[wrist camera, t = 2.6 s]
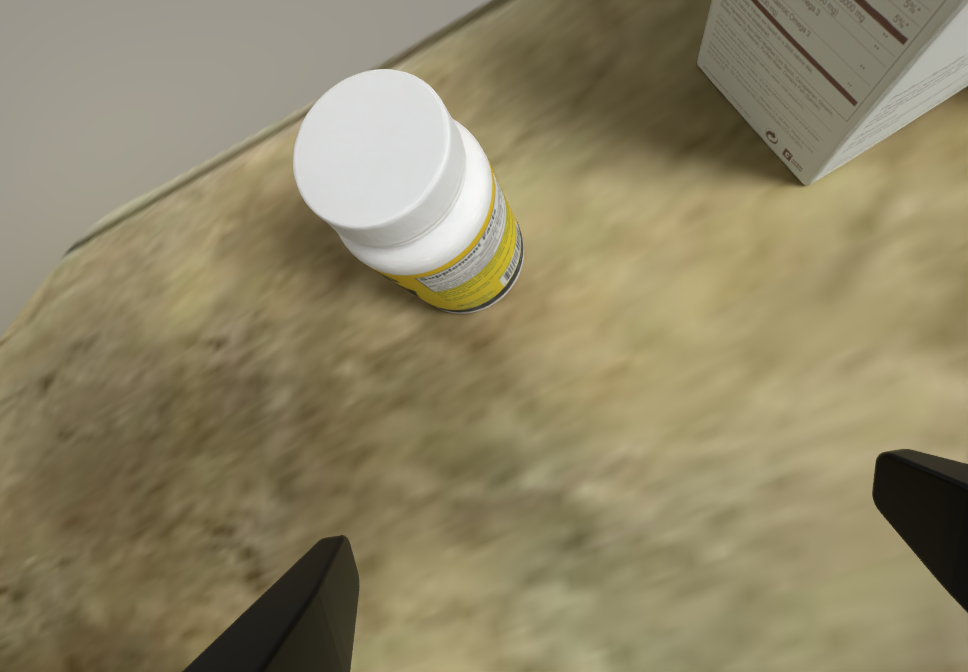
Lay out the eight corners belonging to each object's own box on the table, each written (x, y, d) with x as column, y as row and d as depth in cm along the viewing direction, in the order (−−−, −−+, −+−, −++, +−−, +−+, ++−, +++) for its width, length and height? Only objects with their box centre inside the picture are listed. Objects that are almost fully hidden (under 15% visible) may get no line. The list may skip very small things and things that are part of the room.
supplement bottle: (392, 240, 23) (250, 122, 14) (490, 178, 22) (409, 11, 13) (442, 339, 22) (321, 282, 12) (548, 276, 21) (504, 167, 12)
